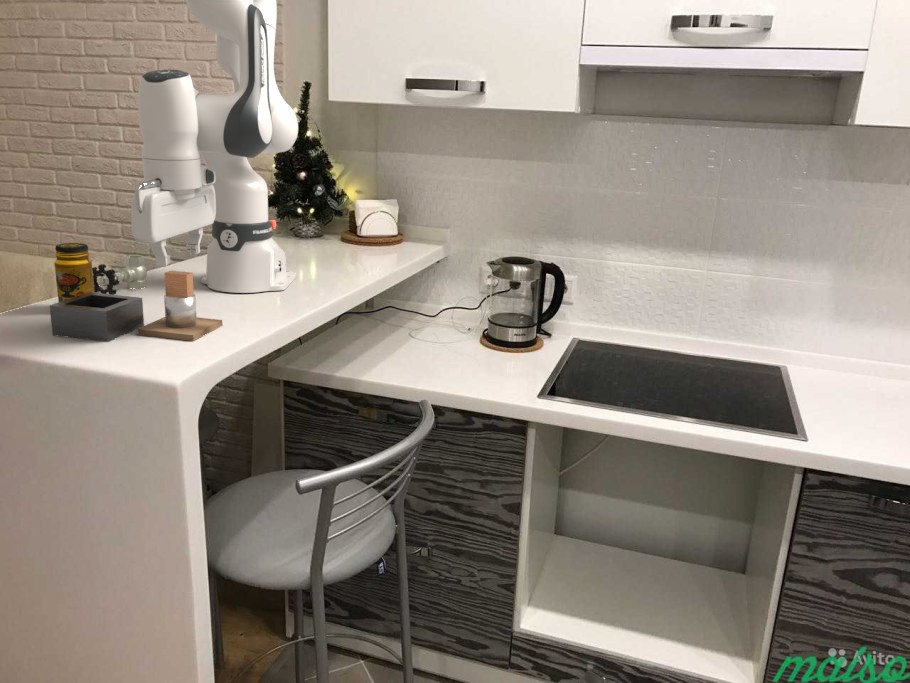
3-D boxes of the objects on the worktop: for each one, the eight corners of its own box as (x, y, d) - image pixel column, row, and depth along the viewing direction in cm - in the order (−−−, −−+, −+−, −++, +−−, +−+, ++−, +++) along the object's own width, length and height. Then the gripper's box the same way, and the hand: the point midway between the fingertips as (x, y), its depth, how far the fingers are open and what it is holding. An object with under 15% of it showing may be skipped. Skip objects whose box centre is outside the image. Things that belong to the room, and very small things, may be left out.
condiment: (58, 315, 133) (51, 248, 130) (53, 304, 140) (47, 240, 137) (103, 312, 137) (97, 247, 134) (96, 301, 144) (91, 239, 141)
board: (170, 319, 135) (170, 314, 134) (222, 325, 133) (222, 320, 133) (137, 334, 125) (137, 328, 125) (193, 341, 124) (193, 335, 123)
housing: (91, 319, 132) (89, 292, 130) (144, 325, 130) (142, 297, 129) (52, 335, 122) (49, 305, 121) (108, 341, 121) (105, 311, 119)
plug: (175, 319, 132) (172, 268, 129) (202, 322, 131) (199, 271, 128) (159, 326, 127) (156, 274, 124) (187, 329, 126) (184, 276, 124)
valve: (130, 284, 159) (88, 296, 148) (128, 253, 157) (85, 262, 146) (157, 287, 157) (117, 300, 146) (155, 256, 155) (114, 266, 144)
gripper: (154, 184, 112) (162, 275, 116) (220, 171, 131) (224, 250, 135) (116, 181, 113) (124, 271, 117) (187, 169, 132) (192, 247, 136)
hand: (178, 259), depth 126 cm, fingers open, 8 cm apart
